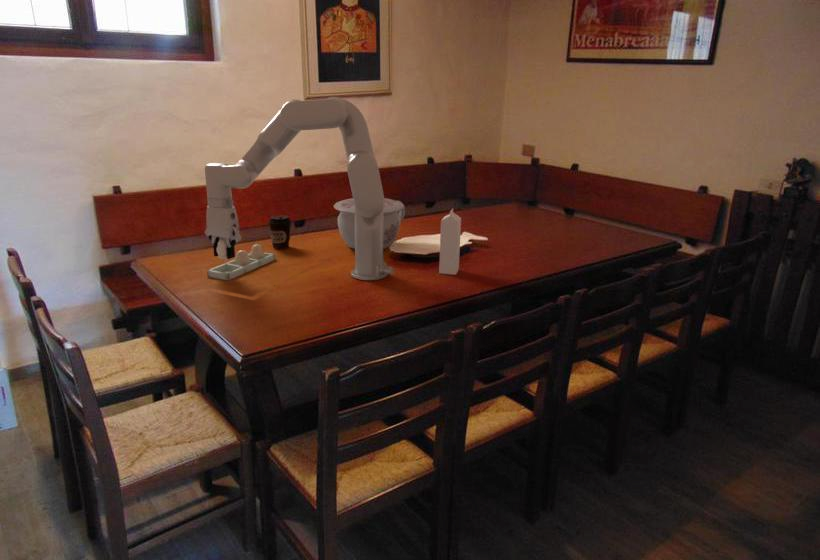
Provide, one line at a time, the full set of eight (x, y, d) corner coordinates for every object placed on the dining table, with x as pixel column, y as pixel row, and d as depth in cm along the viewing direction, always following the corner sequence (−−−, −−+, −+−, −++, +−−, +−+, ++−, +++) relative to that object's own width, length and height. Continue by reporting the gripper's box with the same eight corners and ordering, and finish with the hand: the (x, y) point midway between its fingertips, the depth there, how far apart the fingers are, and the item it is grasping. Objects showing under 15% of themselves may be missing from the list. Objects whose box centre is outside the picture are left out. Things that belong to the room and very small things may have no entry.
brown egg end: (267, 260, 211) (266, 243, 209) (258, 264, 207) (257, 247, 205) (256, 258, 213) (255, 241, 211) (247, 262, 209) (246, 245, 207)
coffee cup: (287, 253, 222) (285, 220, 218) (266, 252, 224) (264, 218, 219) (295, 247, 230) (294, 215, 226) (276, 245, 232) (274, 213, 227)
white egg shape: (235, 256, 195) (233, 238, 193) (225, 260, 191) (223, 242, 189) (223, 254, 197) (222, 236, 195) (213, 258, 193) (212, 240, 191)
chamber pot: (331, 256, 220) (329, 202, 213) (337, 236, 246) (336, 187, 238) (406, 257, 221) (407, 203, 214) (404, 237, 247) (405, 188, 240)
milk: (438, 273, 204) (440, 211, 196) (442, 268, 209) (444, 207, 202) (456, 275, 203) (458, 212, 195) (459, 269, 208) (461, 208, 201)
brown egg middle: (252, 266, 204) (251, 249, 202) (243, 270, 200) (242, 253, 198) (242, 264, 206) (240, 247, 204) (232, 268, 202) (231, 251, 200)
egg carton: (237, 255, 219) (237, 247, 218) (275, 262, 212) (274, 254, 211) (188, 275, 198) (187, 266, 197) (228, 283, 191) (227, 274, 190)
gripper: (249, 203, 188) (252, 257, 194) (207, 197, 194) (212, 250, 201) (233, 207, 181) (237, 263, 188) (191, 201, 188) (196, 255, 194)
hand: (224, 256), depth 194 cm, fingers closed on white egg shape, 4 cm apart
